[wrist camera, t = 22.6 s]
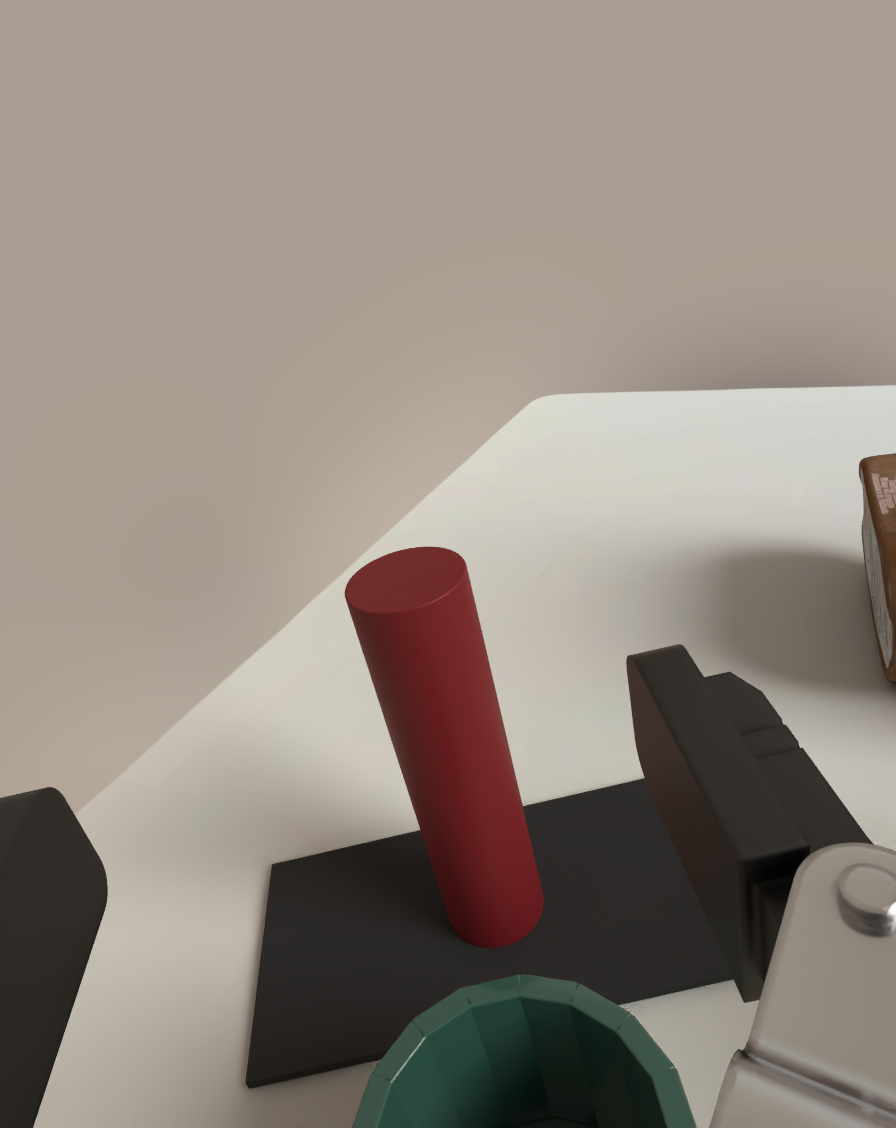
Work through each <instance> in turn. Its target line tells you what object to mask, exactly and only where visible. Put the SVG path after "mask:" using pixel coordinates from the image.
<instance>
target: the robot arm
mask: <svg viewBox="0 0 896 1128" xmlns="http://www.w3.org/2000/svg"><path fill="white" fill-rule="evenodd" d="M627 675H628V683H629V692H630V700H631V709H632V717H633V726H634V734H635V742H636V747H637V752H638V757H639V761H640V764H641V768H642V771H643V774H644V777H645V780H646V782H647V785H648V787H649V790H650V792H651V794H652V796H653V799H654V801H655V803H656V805H657V808H658V810H659V812H660V814H661V817H662V819H663V821H664V823H665V826H666V828H667V830H668V832H669V835H670V837H671V839H672V841H673V844H674V846H675V848H676V850H677V853H678V855H679V857H680V860H681V862H682V864H683V866H684V869H685V871H686V873H687V875H688V878H689V880H690V882H691V884H692V887H693V889H694V891H695V893H696V896H697V898H698V900H699V902H700V905H701V907H702V909H703V911H704V914H705V916H706V918H707V920H708V923H709V925H710V927H711V929H712V932H713V934H714V936H715V938H716V941H717V943H718V945H719V947H720V950H721V952H722V954H723V956H724V959H725V961H726V963H727V965H728V968H729V970H730V972H731V974H732V977H733V979H734V981H735V983H736V986H737V988H738V990H739V992H740V995H741V997H742V999H743V1001H744V1003H746V1002H751V1001H755V1000H760V1001H759V1005H758V1008H757V1012H756V1015H755V1019H754V1022H753V1026H752V1029H751V1033H750V1036H749V1039H748V1042H747V1044H746V1046H745V1048H744V1049H743V1050H740V1049H738V1050H737V1051H736V1052H735V1053H734V1055H733V1057H732V1059H731V1061H730V1063H729V1066H728V1068H727V1071H726V1074H725V1077H724V1080H723V1083H722V1086H721V1090H720V1093H719V1096H718V1100H717V1103H716V1107H715V1110H714V1113H713V1117H712V1120H711V1124H710V1127H709V1128H896V851H894V850H891V849H888V848H885V847H882V846H878V845H874V844H873V843H872V842H871V841H870V839H869V838H868V837H867V836H866V835H865V833H864V832H863V830H862V829H861V828H860V826H859V825H858V824H857V822H856V821H855V819H854V818H853V817H852V815H851V814H850V813H849V811H848V810H847V808H846V807H845V806H844V804H843V803H842V801H841V800H840V799H839V797H838V796H837V795H836V793H835V792H834V790H833V789H832V788H831V786H830V785H829V784H828V782H827V781H826V779H825V778H824V777H823V775H822V774H821V773H820V771H819V770H818V768H817V767H816V766H815V764H814V763H813V761H812V760H811V759H810V757H809V756H808V755H807V753H806V752H805V750H804V749H803V748H800V747H799V743H798V741H797V739H796V738H795V737H794V735H793V734H792V733H791V731H790V730H789V728H788V727H787V726H786V725H783V723H782V719H781V717H780V716H779V715H778V713H777V712H776V710H775V709H774V708H773V706H772V705H771V704H770V702H769V701H768V699H767V698H766V697H765V695H764V694H763V693H762V692H761V691H760V690H758V689H757V688H755V687H753V686H752V685H750V684H749V683H747V682H745V681H744V680H742V679H741V678H739V677H737V676H736V675H734V674H733V673H731V672H726V673H722V674H717V675H713V676H708V677H703V675H702V674H701V672H700V670H699V669H698V667H697V666H696V664H695V663H694V661H693V659H692V658H691V656H690V655H689V653H688V652H687V650H686V649H685V647H684V646H683V645H681V644H678V645H674V646H669V647H665V648H660V649H656V650H651V651H647V652H642V653H638V654H633V655H629V656H628V657H627ZM107 893H108V887H107V878H106V873H105V869H104V866H103V863H102V861H101V859H100V857H99V856H98V854H97V852H96V851H95V849H94V847H93V846H92V844H91V842H90V840H89V839H88V837H87V835H86V834H85V832H84V830H83V828H82V827H81V825H80V823H79V822H78V820H77V818H76V817H75V815H74V813H73V811H72V810H71V808H70V806H69V805H68V803H67V801H66V799H65V798H64V796H63V795H62V794H61V793H60V792H59V791H58V790H56V789H55V788H52V787H47V788H44V789H39V790H34V791H30V792H25V793H21V794H16V795H12V796H7V797H3V798H0V1128H33V1126H34V1123H35V1120H36V1117H37V1114H38V1111H39V1108H40V1105H41V1102H42V1099H43V1096H44V1093H45V1090H46V1087H47V1084H48V1081H49V1078H50V1074H51V1071H52V1068H53V1065H54V1062H55V1059H56V1056H57V1053H58V1050H59V1047H60V1044H61V1041H62V1038H63V1035H64V1032H65V1029H66V1026H67V1023H68V1020H69V1017H70V1014H71V1011H72V1008H73V1005H74V1002H75V999H76V996H77V993H78V990H79V987H80V984H81V981H82V978H83V975H84V972H85V969H86V966H87V963H88V960H89V956H90V953H91V950H92V947H93V944H94V941H95V938H96V935H97V932H98V929H99V926H100V923H101V920H102V917H103V914H104V911H105V907H106V903H107Z"/></svg>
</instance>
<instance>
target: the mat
mask: <svg viewBox="0 0 896 1128" xmlns="http://www.w3.org/2000/svg"><path fill="white" fill-rule="evenodd" d="M523 810H524V814H525V818H526V823H527V827H528V831H529V836H530V840H531V844H532V848H533V853H534V857H535V861H536V866H537V870H538V874H539V878H540V883H541V887H542V891H543V897H544V906H543V911H542V914H541V917H540V919H539V921H538V923H537V924H536V926H535V927H534V928H533V929H532V931H531V932H530V933H528V934H527V935H526V936H525V937H524V938H522V939H521V940H519V941H517V942H515V943H513V944H510V945H507V946H504V947H498V948H484V947H479V946H476V945H473V944H471V943H469V942H467V941H465V940H464V939H462V938H461V937H460V936H459V935H458V934H457V933H456V931H455V930H454V928H453V927H452V925H451V922H450V919H449V916H448V913H447V910H446V907H445V904H444V901H443V897H442V894H441V891H440V888H439V885H438V882H437V879H436V876H435V873H434V870H433V867H432V864H431V860H430V857H429V854H428V851H427V848H426V845H425V842H424V839H423V836H422V833H421V830H419V831H415V832H410V833H406V834H402V835H397V836H393V837H389V838H384V839H380V840H376V841H371V842H367V843H363V844H358V845H354V846H350V847H345V848H341V849H337V850H332V851H328V852H324V853H319V854H315V855H311V856H306V857H302V858H298V859H293V860H289V861H285V862H280V863H276V864H272V869H271V877H270V886H269V894H268V902H267V910H266V919H265V927H264V935H263V943H262V952H261V960H260V968H259V976H258V984H257V993H256V1001H255V1009H254V1017H253V1026H252V1034H251V1042H250V1050H249V1058H248V1067H247V1075H246V1085H247V1086H248V1088H254V1087H258V1086H262V1085H267V1084H271V1083H276V1082H280V1081H285V1080H289V1079H293V1078H298V1077H302V1076H307V1075H311V1074H316V1073H320V1072H324V1071H329V1070H333V1069H338V1068H342V1067H346V1066H351V1065H355V1064H360V1063H364V1062H369V1061H373V1060H377V1059H382V1058H383V1057H384V1055H385V1054H386V1053H387V1052H388V1050H389V1049H390V1048H391V1046H392V1045H393V1044H394V1043H395V1041H396V1040H397V1039H398V1037H399V1036H400V1035H401V1033H402V1032H403V1031H404V1030H405V1028H406V1027H407V1026H408V1024H409V1023H410V1022H411V1021H412V1020H413V1019H414V1018H415V1017H417V1016H418V1015H420V1014H421V1013H423V1012H424V1011H426V1010H428V1009H429V1008H431V1007H432V1006H434V1005H435V1004H437V1003H438V1002H440V1001H441V1000H443V999H444V998H446V997H447V996H449V995H451V994H452V993H454V992H455V991H457V990H458V989H460V988H461V987H463V988H464V987H465V986H469V985H473V984H478V983H482V982H487V981H491V980H495V979H500V978H504V977H509V976H513V975H521V974H525V975H532V976H539V977H545V978H552V979H559V980H565V981H572V982H576V983H578V984H582V985H583V986H585V987H587V988H589V989H590V990H592V991H594V992H595V993H597V994H599V995H601V996H602V997H604V998H606V999H608V1000H609V1001H611V1002H613V1003H614V1004H616V1005H621V1004H625V1003H630V1002H634V1001H638V1000H643V999H647V998H652V997H656V996H660V995H665V994H669V993H674V992H678V991H683V990H687V989H691V988H696V987H700V986H705V985H709V984H714V983H718V982H722V981H727V980H731V979H733V977H732V974H731V972H730V970H729V968H728V965H727V963H726V961H725V959H724V956H723V954H722V952H721V950H720V947H719V945H718V943H717V941H716V938H715V936H714V934H713V932H712V929H711V927H710V925H709V923H708V920H707V918H706V916H705V914H704V911H703V909H702V907H701V905H700V902H699V900H698V898H697V896H696V893H695V891H694V889H693V887H692V884H691V882H690V880H689V878H688V875H687V873H686V871H685V869H684V866H683V864H682V862H681V860H680V857H679V855H678V853H677V850H676V848H675V846H674V844H673V841H672V839H671V837H670V835H669V832H668V830H667V828H666V826H665V823H664V821H663V819H662V817H661V814H660V812H659V810H658V808H657V805H656V803H655V801H654V799H653V796H652V794H651V792H650V790H649V787H648V785H647V782H646V780H645V778H644V779H640V780H636V781H631V782H627V783H623V784H618V785H614V786H610V787H605V788H601V789H597V790H592V791H588V792H584V793H579V794H575V795H571V796H566V797H562V798H558V799H553V800H549V801H545V802H540V803H536V804H532V805H527V806H523ZM412 1022H413V1021H412Z"/></svg>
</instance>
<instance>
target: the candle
mask: <svg viewBox="0 0 896 1128" xmlns="http://www.w3.org/2000/svg"><path fill="white" fill-rule="evenodd" d="M345 598H346V601H347V604H348V608H349V611H350V614H351V617H352V620H353V623H354V626H355V629H356V632H357V635H358V638H359V641H360V645H361V648H362V651H363V654H364V657H365V660H366V663H367V666H368V669H369V672H370V675H371V679H372V682H373V685H374V688H375V691H376V694H377V697H378V700H379V703H380V706H381V709H382V712H383V716H384V719H385V722H386V725H387V728H388V731H389V734H390V737H391V740H392V743H393V746H394V749H395V753H396V756H397V759H398V762H399V765H400V768H401V771H402V774H403V777H404V780H405V783H406V786H407V790H408V793H409V796H410V799H411V802H412V805H413V808H414V811H415V814H416V817H417V820H418V823H419V827H420V830H421V833H422V836H423V839H424V842H425V845H426V848H427V851H428V854H429V857H430V860H431V864H432V867H433V870H434V873H435V876H436V879H437V882H438V885H439V888H440V891H441V894H442V897H443V901H444V904H445V907H446V910H447V913H448V916H449V919H450V922H451V925H452V927H453V928H454V930H455V931H456V933H457V934H458V935H459V936H460V937H461V938H462V939H464V940H465V941H467V942H469V943H471V944H473V945H476V946H479V947H484V948H498V947H504V946H507V945H510V944H513V943H515V942H517V941H519V940H521V939H522V938H524V937H525V936H526V935H527V934H528V933H530V932H531V931H532V929H533V928H534V927H535V926H536V924H537V923H538V921H539V919H540V917H541V914H542V911H543V906H544V897H543V891H542V887H541V883H540V878H539V874H538V870H537V866H536V861H535V857H534V853H533V848H532V844H531V840H530V836H529V831H528V827H527V823H526V818H525V814H524V810H523V806H522V801H521V797H520V793H519V788H518V784H517V780H516V776H515V771H514V767H513V763H512V759H511V754H510V750H509V746H508V741H507V737H506V733H505V729H504V724H503V720H502V716H501V711H500V707H499V703H498V699H497V694H496V690H495V686H494V682H493V677H492V673H491V669H490V664H489V660H488V656H487V652H486V647H485V643H484V639H483V634H482V630H481V626H480V622H479V617H478V613H477V609H476V604H475V600H474V596H473V592H472V587H471V583H470V579H469V575H468V570H467V566H466V563H465V561H464V559H463V558H462V557H461V556H460V555H459V554H458V553H456V552H454V551H452V550H449V549H445V548H440V547H416V548H409V549H405V550H400V551H397V552H393V553H390V554H387V555H385V556H382V557H380V558H378V559H376V560H374V561H372V562H370V563H368V564H367V565H365V566H364V567H362V568H361V569H360V570H359V571H357V572H356V573H355V574H354V575H353V576H352V578H351V579H350V580H349V582H348V583H347V586H346V589H345Z"/></svg>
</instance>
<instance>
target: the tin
mask: <svg viewBox="0 0 896 1128" xmlns="http://www.w3.org/2000/svg"><path fill="white" fill-rule="evenodd" d="M859 477H860V480H861V483H862V486H863V500H864V516H863V521H862V542H863V551H864V560H865V570H866V576H867V583H868V589H869V595H870V602H871V609H872V616H873V621H874V627H875V632H876V637H877V643H878V647H879V652H880V657H881V662H882V666H883V669H884V673H885V675H886V677H887V679H888V680H890V681H894V682H896V453H895V454H886V455H877V456H871V457H867V458H864V459H862V460H861V461H860V464H859Z"/></svg>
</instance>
